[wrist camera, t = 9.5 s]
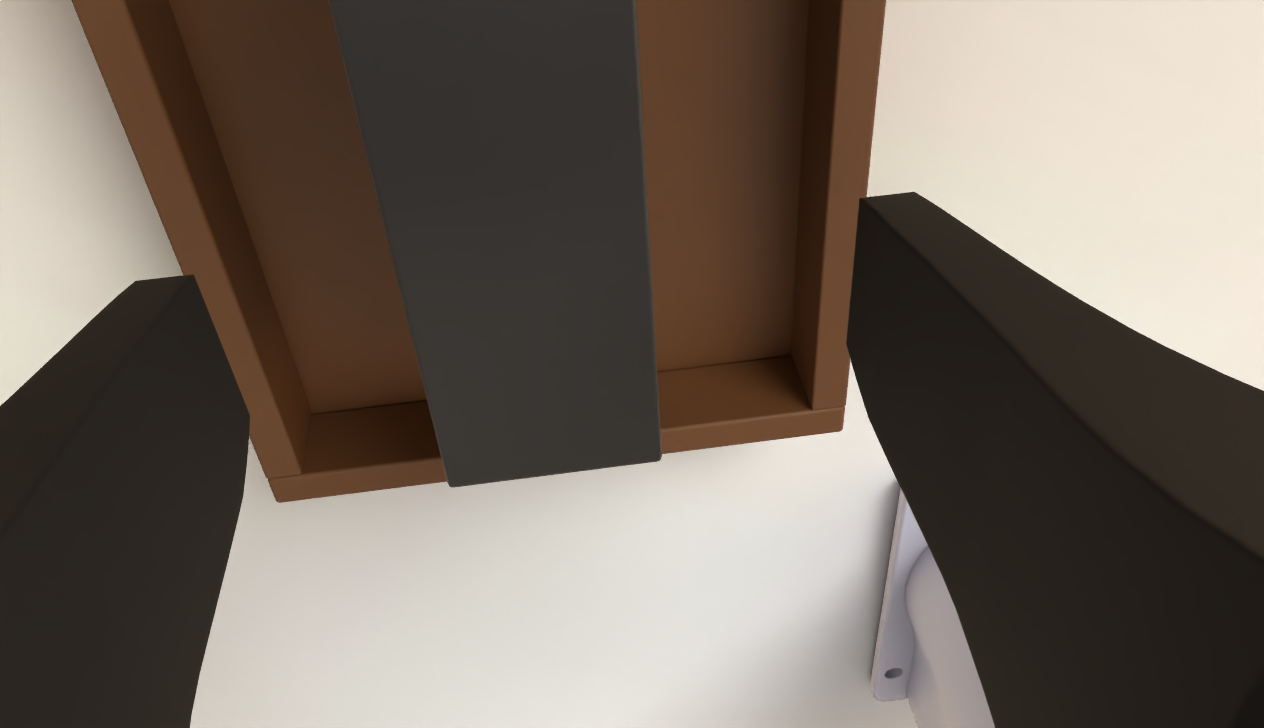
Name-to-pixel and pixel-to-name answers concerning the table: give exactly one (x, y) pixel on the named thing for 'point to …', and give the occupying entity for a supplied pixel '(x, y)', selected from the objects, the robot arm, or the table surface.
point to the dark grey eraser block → (515, 223)
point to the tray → (360, 256)
